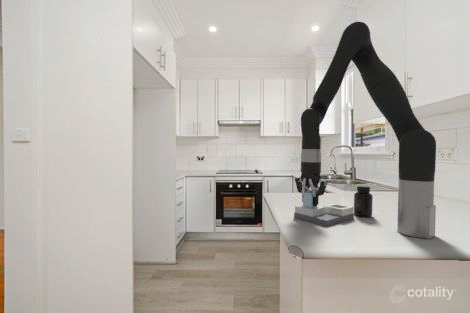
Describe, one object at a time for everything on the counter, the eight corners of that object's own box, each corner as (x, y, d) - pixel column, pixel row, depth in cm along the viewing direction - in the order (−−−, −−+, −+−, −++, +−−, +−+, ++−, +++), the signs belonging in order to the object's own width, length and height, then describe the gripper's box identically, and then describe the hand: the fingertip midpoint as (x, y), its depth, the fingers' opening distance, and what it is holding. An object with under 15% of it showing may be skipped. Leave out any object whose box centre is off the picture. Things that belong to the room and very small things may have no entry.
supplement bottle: (375, 217, 99) (376, 187, 99) (358, 217, 99) (359, 187, 99) (366, 213, 106) (367, 185, 106) (350, 213, 106) (351, 185, 106)
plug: (317, 213, 97) (317, 190, 97) (311, 214, 94) (311, 191, 94) (308, 211, 100) (309, 189, 100) (302, 212, 97) (303, 189, 97)
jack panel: (353, 218, 98) (353, 206, 98) (326, 226, 86) (326, 213, 86) (322, 211, 109) (322, 201, 109) (294, 217, 98) (294, 206, 97)
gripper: (333, 161, 93) (332, 207, 94) (301, 160, 105) (301, 201, 105) (321, 161, 89) (320, 209, 89) (290, 160, 100) (289, 203, 100)
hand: (310, 204), depth 97 cm, fingers closed on plug, 3 cm apart
